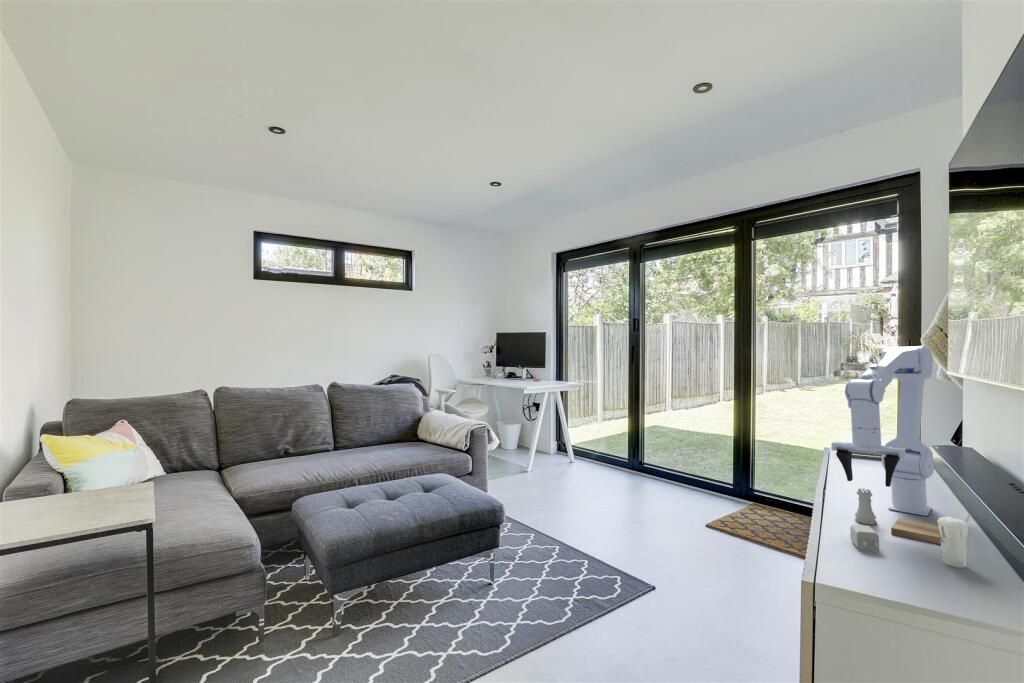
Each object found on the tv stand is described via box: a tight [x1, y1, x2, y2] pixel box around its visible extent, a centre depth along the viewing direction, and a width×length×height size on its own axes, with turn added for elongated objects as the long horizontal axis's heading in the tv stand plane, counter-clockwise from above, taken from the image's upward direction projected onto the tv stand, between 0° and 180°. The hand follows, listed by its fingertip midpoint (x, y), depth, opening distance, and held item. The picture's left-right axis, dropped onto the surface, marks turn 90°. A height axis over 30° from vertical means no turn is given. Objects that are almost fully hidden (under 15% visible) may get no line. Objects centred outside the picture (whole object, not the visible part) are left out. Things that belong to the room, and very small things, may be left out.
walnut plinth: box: [890, 517, 941, 545], centre depth 110 cm, size 10×10×2 cm
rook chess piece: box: [854, 487, 878, 526], centre depth 119 cm, size 4×4×8 cm
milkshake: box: [936, 513, 971, 569], centre depth 94 cm, size 4×5×10 cm
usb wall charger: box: [849, 524, 880, 553], centre depth 102 cm, size 4×7×4 cm, turn 159°
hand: (868, 483), depth 117 cm, fingers open, 7 cm apart
